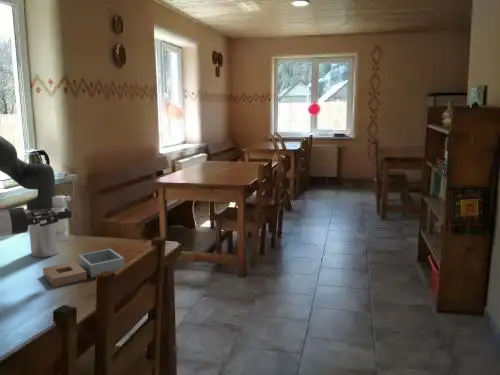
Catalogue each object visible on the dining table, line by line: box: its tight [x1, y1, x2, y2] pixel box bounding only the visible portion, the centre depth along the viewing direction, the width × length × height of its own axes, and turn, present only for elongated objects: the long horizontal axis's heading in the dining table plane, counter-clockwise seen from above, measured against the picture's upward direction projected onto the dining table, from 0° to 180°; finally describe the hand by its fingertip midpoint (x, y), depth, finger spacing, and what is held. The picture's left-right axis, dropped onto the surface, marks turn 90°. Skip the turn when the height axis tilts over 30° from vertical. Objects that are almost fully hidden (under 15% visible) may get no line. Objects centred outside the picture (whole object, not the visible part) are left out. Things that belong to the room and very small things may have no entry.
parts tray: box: [77, 248, 126, 278], centre depth 153 cm, size 13×11×4 cm
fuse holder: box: [42, 261, 88, 288], centre depth 145 cm, size 12×10×2 cm
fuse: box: [52, 195, 69, 244], centre depth 142 cm, size 3×3×14 cm
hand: (69, 212), depth 144 cm, fingers closed on fuse, 3 cm apart
